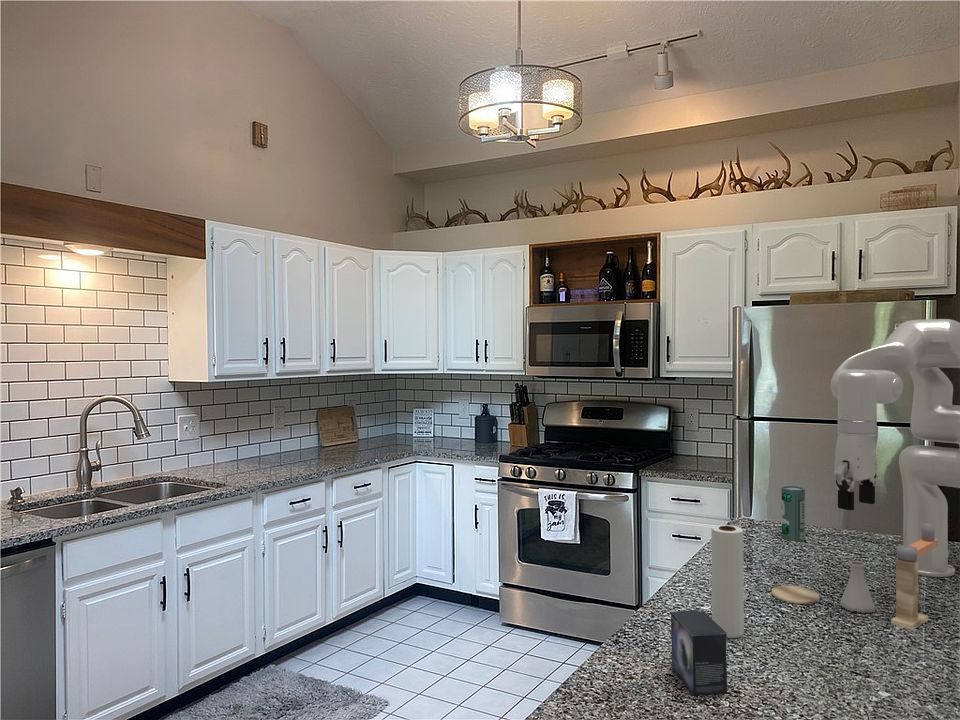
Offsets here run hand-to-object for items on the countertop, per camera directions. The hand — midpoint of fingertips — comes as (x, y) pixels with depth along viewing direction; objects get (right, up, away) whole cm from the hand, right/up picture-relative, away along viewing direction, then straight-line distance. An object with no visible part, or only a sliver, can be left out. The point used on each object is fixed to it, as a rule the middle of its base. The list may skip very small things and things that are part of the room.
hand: (856, 506), depth 153 cm
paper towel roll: (-32, -23, -11) cm, 41 cm away
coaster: (-10, -22, +8) cm, 26 cm away
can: (+11, -21, +55) cm, 60 cm away
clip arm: (+11, -9, -4) cm, 15 cm away
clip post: (+7, -23, -7) cm, 25 cm away
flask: (+1, -23, +1) cm, 23 cm away
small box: (-44, -24, -31) cm, 59 cm away
